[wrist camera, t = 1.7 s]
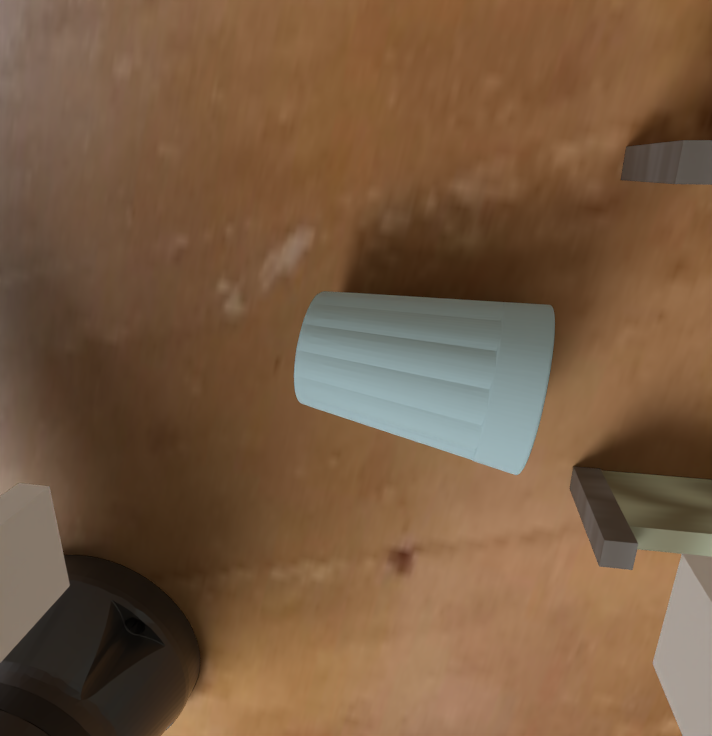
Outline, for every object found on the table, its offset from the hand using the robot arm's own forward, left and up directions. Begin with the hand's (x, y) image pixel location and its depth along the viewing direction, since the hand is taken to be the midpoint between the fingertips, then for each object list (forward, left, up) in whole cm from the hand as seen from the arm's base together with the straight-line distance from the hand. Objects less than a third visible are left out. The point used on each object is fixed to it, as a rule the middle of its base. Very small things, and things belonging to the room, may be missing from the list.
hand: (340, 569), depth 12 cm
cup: (-2, 0, -20) cm, 20 cm away
